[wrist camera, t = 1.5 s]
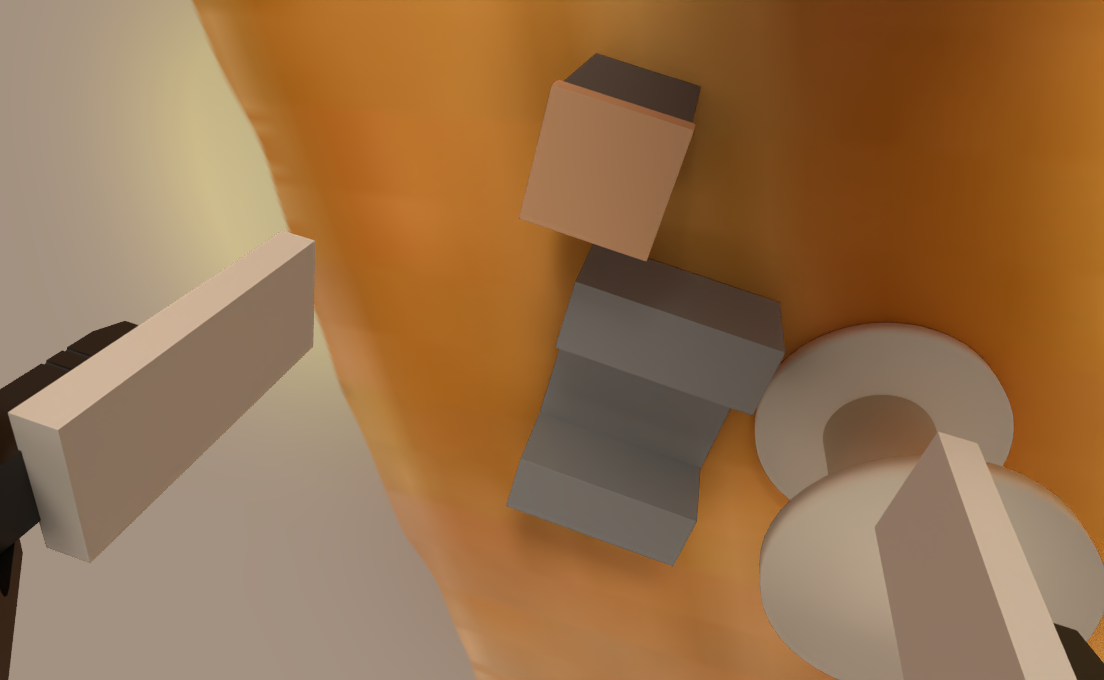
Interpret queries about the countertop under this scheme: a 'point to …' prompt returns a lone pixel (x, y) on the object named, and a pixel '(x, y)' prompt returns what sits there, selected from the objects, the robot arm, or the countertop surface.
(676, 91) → the tan and grey block
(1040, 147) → the countertop surface
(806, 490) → the bobbin
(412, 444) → the countertop surface
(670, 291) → the notch board
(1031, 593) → the robot arm
